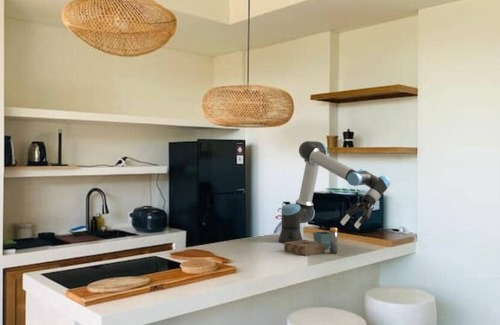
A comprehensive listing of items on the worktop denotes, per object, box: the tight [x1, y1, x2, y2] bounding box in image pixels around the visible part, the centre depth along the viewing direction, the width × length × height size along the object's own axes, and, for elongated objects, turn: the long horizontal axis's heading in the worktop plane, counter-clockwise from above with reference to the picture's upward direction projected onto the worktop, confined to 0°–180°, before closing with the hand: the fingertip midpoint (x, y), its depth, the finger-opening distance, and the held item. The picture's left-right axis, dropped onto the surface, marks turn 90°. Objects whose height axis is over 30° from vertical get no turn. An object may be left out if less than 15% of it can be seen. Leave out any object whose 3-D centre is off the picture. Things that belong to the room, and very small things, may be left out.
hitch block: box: [283, 239, 326, 257], centre depth 269 cm, size 16×16×5 cm
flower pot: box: [312, 231, 330, 249], centre depth 282 cm, size 9×9×9 cm
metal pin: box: [329, 227, 339, 255], centre depth 266 cm, size 4×4×14 cm
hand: (348, 225), depth 269 cm, fingers open, 13 cm apart
